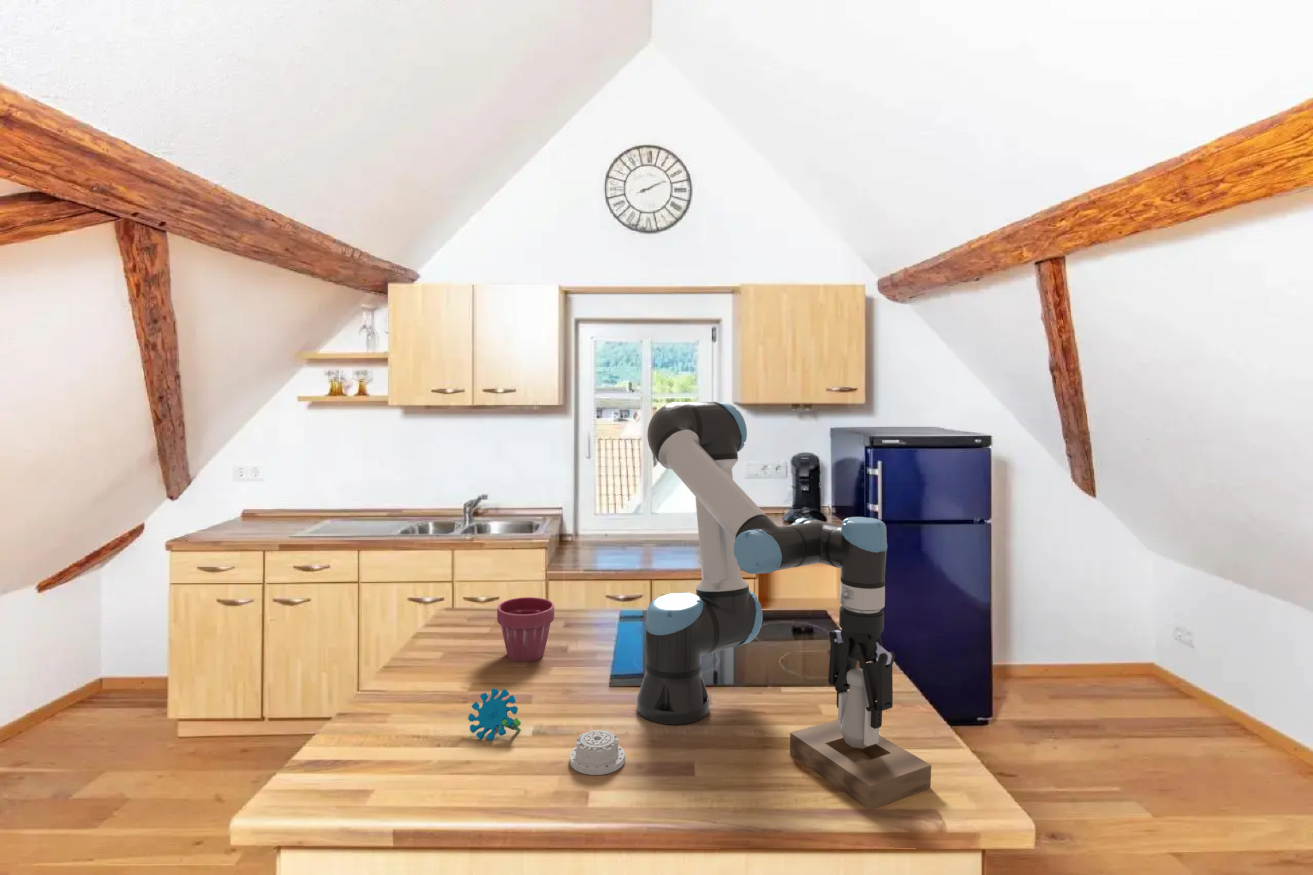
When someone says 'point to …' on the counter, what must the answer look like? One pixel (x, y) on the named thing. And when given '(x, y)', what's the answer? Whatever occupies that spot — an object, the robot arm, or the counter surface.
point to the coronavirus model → (494, 715)
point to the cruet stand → (861, 765)
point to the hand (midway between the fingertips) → (857, 735)
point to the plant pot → (525, 626)
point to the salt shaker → (855, 710)
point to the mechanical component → (597, 753)
